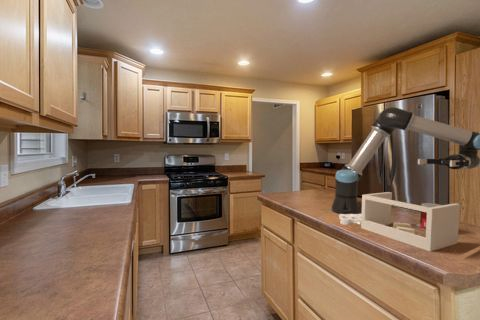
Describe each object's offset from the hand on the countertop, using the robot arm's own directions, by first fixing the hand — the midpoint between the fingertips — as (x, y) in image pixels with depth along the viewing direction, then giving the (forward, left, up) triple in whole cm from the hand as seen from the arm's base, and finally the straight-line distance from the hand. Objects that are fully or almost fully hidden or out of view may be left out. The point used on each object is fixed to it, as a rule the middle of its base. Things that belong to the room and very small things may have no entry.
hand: (433, 162), depth 121 cm
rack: (+6, -29, -30) cm, 42 cm away
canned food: (+5, -10, -30) cm, 31 cm away
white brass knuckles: (-17, -30, -31) cm, 46 cm away
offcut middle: (+6, -31, -29) cm, 43 cm away
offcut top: (+6, -31, -27) cm, 42 cm away
